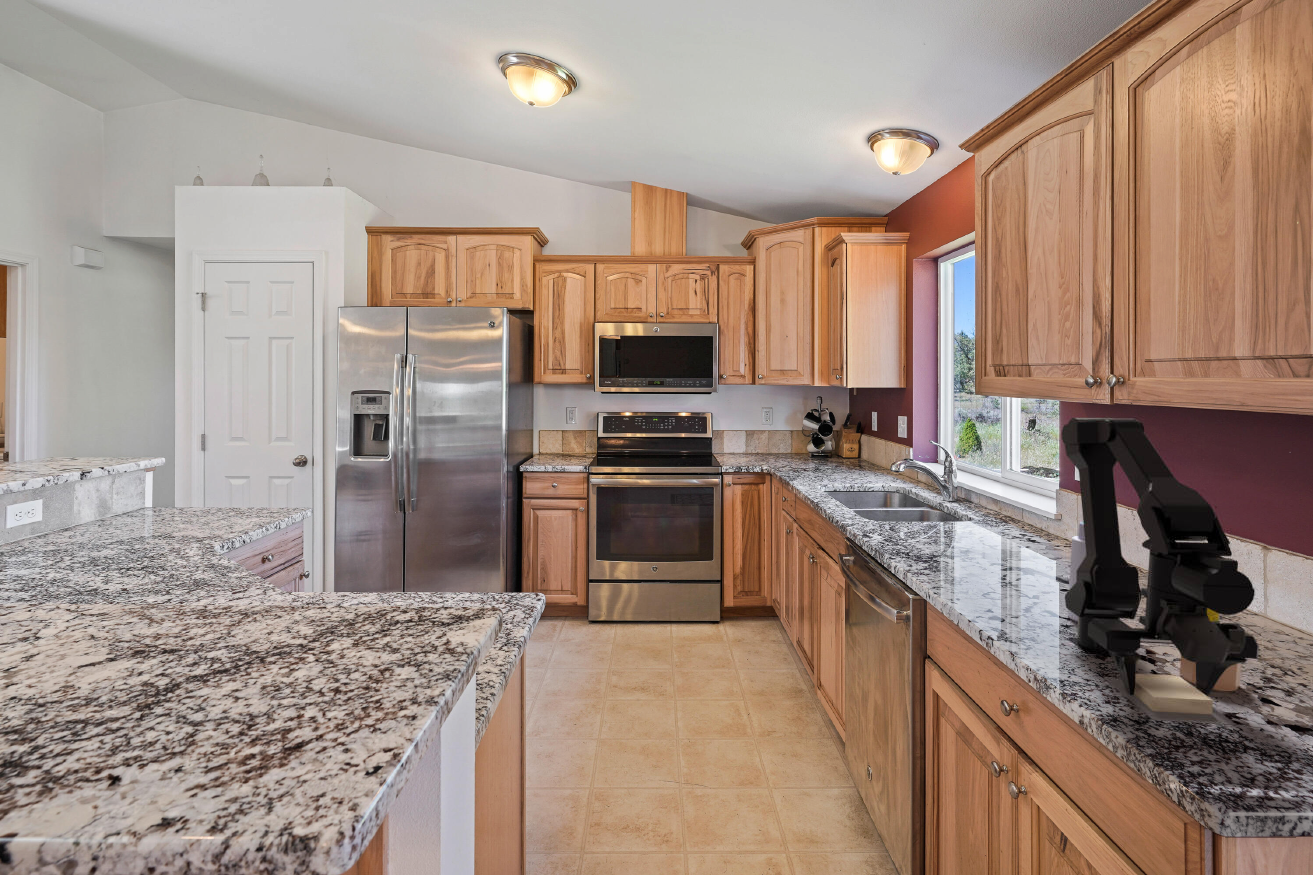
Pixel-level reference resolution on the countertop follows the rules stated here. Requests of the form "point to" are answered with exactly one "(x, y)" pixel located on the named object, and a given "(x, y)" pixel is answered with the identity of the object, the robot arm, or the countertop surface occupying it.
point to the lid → (1171, 694)
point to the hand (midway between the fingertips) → (1165, 695)
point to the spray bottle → (1076, 560)
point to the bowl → (1224, 683)
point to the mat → (1171, 716)
